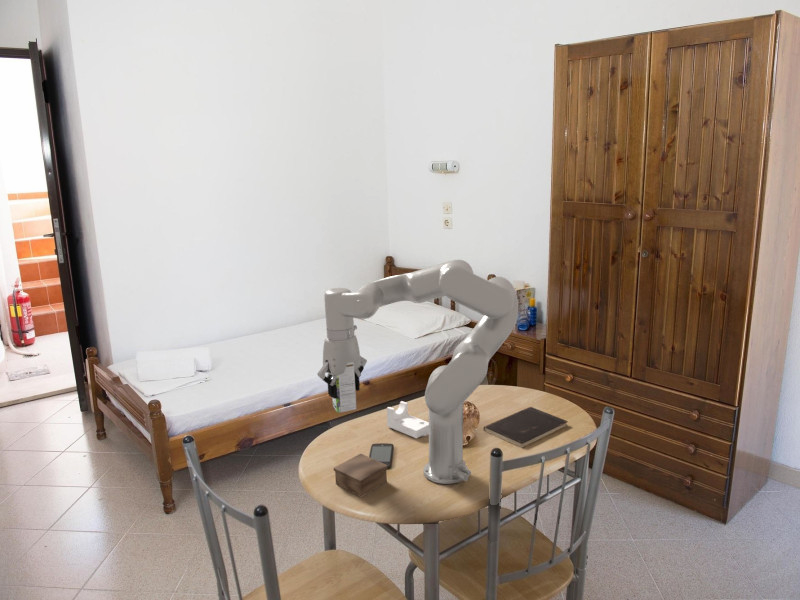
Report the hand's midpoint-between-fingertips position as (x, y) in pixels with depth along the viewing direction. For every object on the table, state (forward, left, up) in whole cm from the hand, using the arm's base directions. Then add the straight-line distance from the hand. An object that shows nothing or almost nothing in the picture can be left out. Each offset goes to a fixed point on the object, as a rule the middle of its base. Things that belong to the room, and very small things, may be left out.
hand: (344, 392), depth 178 cm
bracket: (+6, -29, -24) cm, 37 cm away
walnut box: (-10, +2, -23) cm, 25 cm away
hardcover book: (-19, -58, -24) cm, 65 cm away
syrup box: (0, 0, -5) cm, 5 cm away
